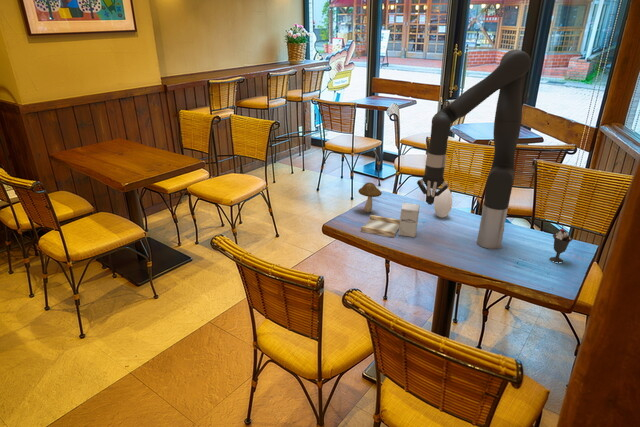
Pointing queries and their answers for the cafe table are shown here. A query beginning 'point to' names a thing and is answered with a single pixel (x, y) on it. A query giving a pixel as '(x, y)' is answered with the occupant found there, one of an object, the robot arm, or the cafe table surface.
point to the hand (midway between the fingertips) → (429, 203)
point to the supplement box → (409, 219)
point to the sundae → (560, 244)
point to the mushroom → (369, 194)
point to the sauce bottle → (443, 203)
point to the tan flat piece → (381, 226)
